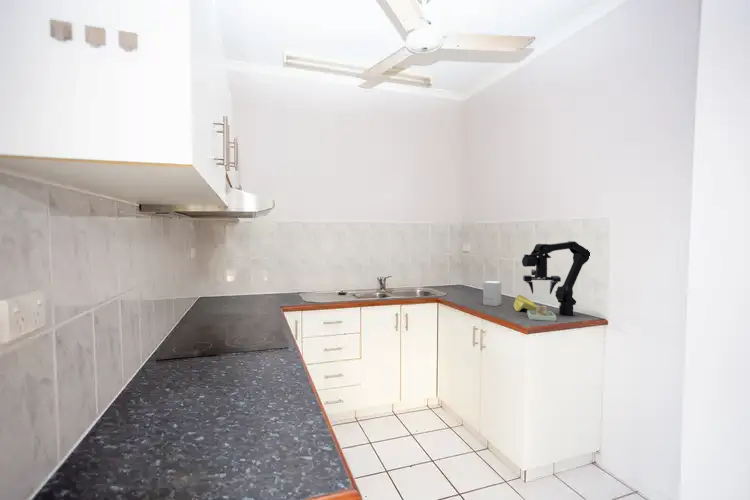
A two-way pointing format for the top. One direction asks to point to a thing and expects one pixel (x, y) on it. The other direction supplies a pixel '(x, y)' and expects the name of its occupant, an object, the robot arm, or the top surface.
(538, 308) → the beech block
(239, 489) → the top surface
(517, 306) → the plastic component
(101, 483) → the top surface
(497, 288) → the supplement box
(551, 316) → the tray
